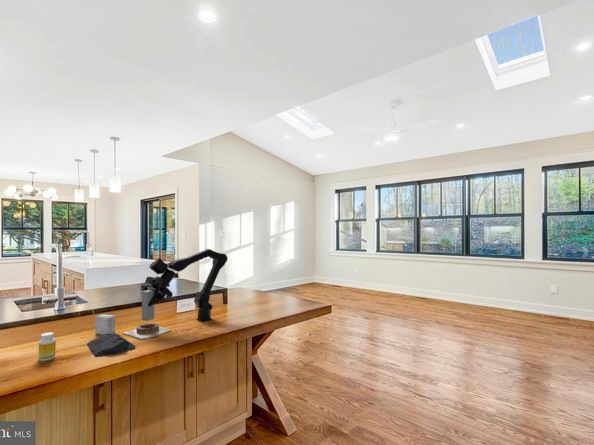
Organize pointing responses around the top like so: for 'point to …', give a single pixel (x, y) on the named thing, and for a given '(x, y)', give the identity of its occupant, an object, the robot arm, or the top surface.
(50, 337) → the supplement bottle
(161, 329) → the ring holder
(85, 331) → the top surface
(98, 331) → the medicine box
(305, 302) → the top surface
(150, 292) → the tall square grey column
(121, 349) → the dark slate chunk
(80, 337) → the top surface
